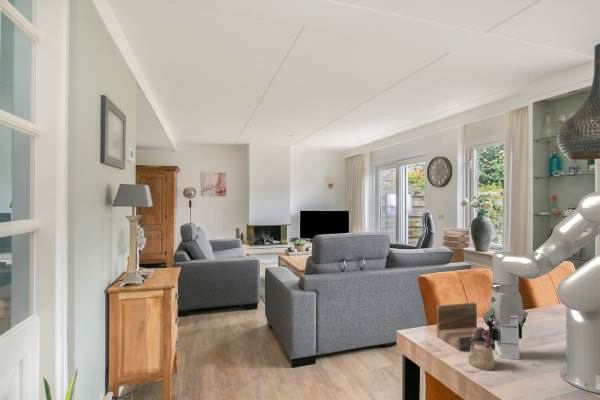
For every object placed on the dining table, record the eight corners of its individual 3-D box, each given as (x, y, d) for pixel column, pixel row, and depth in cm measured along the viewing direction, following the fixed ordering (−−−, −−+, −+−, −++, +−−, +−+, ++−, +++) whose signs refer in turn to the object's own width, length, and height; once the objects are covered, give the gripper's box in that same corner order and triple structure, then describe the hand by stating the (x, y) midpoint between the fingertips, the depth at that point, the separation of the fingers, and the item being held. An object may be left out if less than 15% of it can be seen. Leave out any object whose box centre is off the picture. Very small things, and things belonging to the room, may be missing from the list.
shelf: (502, 347, 114) (501, 313, 114) (460, 351, 110) (460, 317, 111) (474, 332, 127) (474, 302, 127) (436, 336, 123) (436, 305, 124)
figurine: (480, 358, 106) (480, 322, 106) (499, 368, 99) (499, 329, 99) (463, 361, 104) (463, 324, 104) (482, 372, 97) (482, 332, 97)
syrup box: (520, 360, 105) (519, 315, 105) (500, 358, 106) (499, 314, 106) (512, 352, 110) (511, 310, 110) (493, 350, 111) (493, 309, 112)
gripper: (492, 292, 103) (492, 345, 103) (536, 289, 107) (536, 340, 106) (475, 286, 110) (475, 335, 110) (516, 284, 114) (516, 331, 114)
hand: (505, 338), depth 108 cm, fingers open, 9 cm apart
